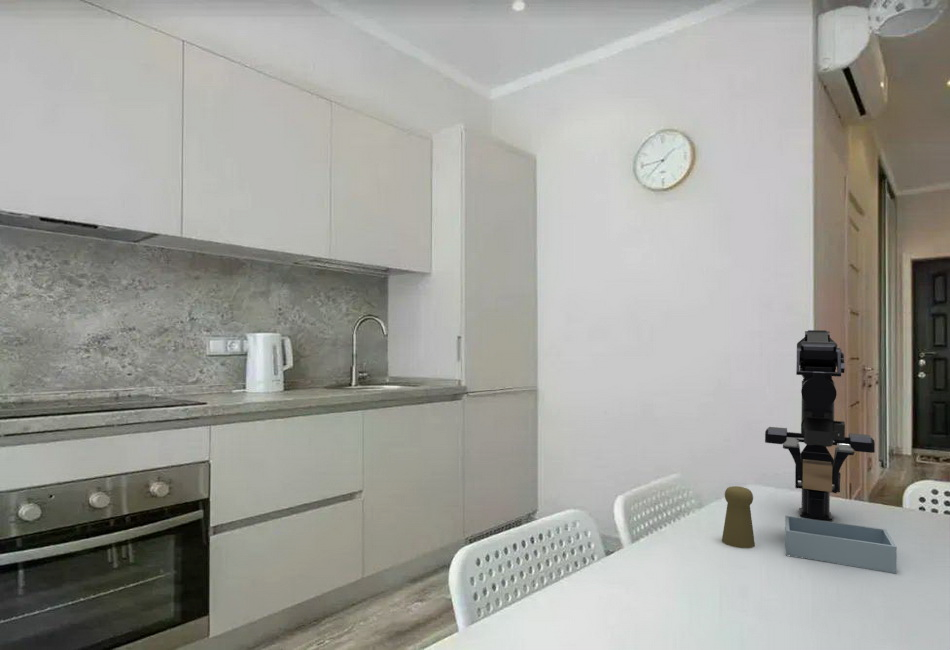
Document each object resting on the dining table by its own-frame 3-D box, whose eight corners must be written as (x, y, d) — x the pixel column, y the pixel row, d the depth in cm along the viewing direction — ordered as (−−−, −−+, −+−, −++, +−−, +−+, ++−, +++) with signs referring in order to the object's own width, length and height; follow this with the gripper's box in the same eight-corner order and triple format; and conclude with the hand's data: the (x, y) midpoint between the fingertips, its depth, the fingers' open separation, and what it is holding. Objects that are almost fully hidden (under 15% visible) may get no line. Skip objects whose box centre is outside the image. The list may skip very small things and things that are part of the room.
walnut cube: (802, 483, 122) (802, 459, 122) (830, 487, 120) (831, 462, 120) (802, 488, 118) (802, 463, 118) (831, 492, 115) (832, 466, 115)
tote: (785, 538, 122) (785, 515, 122) (885, 553, 114) (885, 529, 114) (785, 555, 112) (786, 530, 112) (896, 573, 104) (896, 547, 104)
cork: (748, 538, 121) (749, 484, 121) (759, 549, 115) (760, 492, 115) (717, 537, 122) (718, 483, 122) (727, 547, 116) (728, 490, 116)
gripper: (763, 403, 117) (763, 483, 116) (878, 411, 108) (877, 498, 107) (766, 400, 126) (766, 473, 126) (871, 406, 117) (871, 486, 117)
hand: (817, 482), depth 119 cm, fingers closed on walnut cube, 5 cm apart
